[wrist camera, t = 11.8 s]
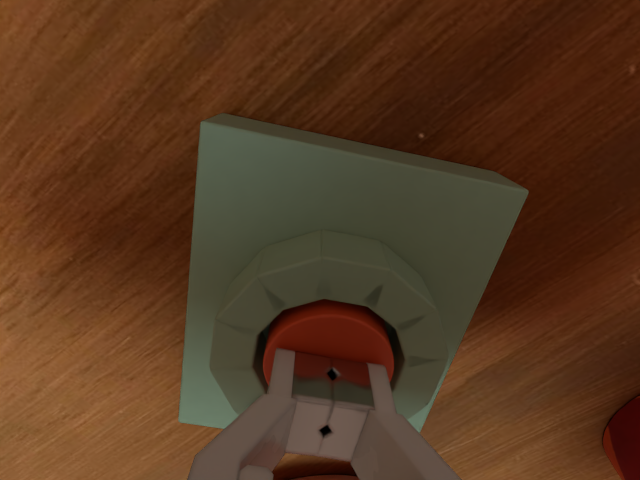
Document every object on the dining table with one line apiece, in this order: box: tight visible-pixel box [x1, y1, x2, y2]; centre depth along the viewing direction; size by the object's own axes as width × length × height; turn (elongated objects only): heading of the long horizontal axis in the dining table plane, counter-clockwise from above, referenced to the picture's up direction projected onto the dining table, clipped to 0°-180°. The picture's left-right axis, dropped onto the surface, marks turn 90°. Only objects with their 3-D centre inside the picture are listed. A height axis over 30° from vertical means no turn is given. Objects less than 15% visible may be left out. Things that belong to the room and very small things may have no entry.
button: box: [263, 299, 394, 386], centre depth 11 cm, size 4×4×2 cm
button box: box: [178, 113, 529, 433], centre depth 12 cm, size 11×9×4 cm
